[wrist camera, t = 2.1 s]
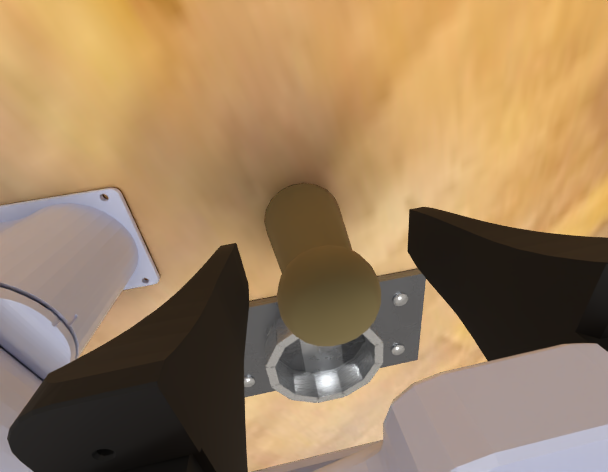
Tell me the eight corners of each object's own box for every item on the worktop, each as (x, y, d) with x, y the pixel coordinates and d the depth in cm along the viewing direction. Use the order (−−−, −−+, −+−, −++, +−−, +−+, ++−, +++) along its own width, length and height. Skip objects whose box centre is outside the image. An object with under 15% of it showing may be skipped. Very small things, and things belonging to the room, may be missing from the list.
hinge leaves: (231, 393, 31) (228, 427, 28) (197, 311, 25) (189, 342, 22) (414, 353, 32) (430, 382, 29) (421, 267, 27) (443, 291, 24)
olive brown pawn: (347, 239, 24) (407, 343, 14) (279, 261, 24) (293, 380, 14) (330, 172, 21) (392, 245, 11) (252, 197, 21) (249, 292, 11)
